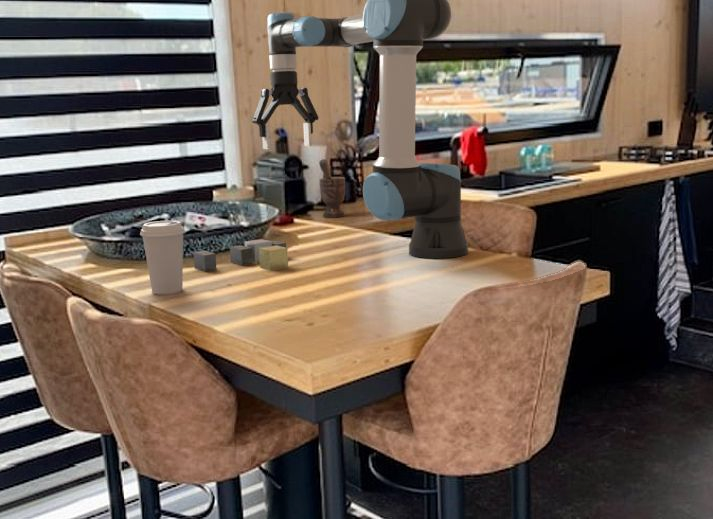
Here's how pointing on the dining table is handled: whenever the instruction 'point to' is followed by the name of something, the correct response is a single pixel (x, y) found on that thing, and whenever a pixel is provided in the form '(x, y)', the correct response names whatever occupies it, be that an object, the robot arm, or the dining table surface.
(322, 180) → the mortar and pestle
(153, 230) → the coffee cup
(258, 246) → the light gray cube
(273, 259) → the yellow cube
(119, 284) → the dining table surface
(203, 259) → the dark grey cubes
